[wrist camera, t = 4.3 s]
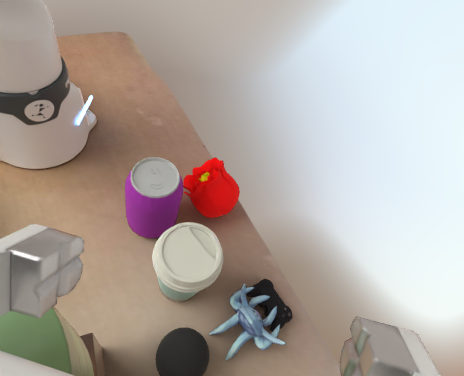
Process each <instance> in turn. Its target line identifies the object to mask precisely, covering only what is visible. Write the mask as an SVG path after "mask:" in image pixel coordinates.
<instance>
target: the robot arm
mask: <svg viewBox="0 0 464 376" xmlns="http://www.w3.org/2000/svg"><path fill="white" fill-rule="evenodd" d="M91 101H92V96H90V97H89V99H88V101H87V103H86V105H84V101H83V97H82V93H81V90H80V88H77V87H76V86H75V85H74V84H73V83H72V82H71V81H69V73H68V69H67V67H66V65H65V62H64V60H63V58H62V57H61V56H60V52H59V47H58V43H57V38H56V34H55V29H54V24H53V20H52V16H51V14H50V12H49V10H48V8H47V7H46V5H45V4H44V3H43V1H42V0H0V160H1V161H4V162H6V163H9V164H11V165H14V166H17V167H21V168H27V169H43V168H50V167H54V166H58V165H60V164H63V163H65V162H67V161H69V160H71V159H72V158H74V157H75V156H76V155H77V154H79V153H80V152H81V150H82V149H83V148H84V146H85V144H86V142H87V138H88V134H89V131H90V130H91V129H92V128H93V127H94V126H95V124H96V122H97V120H96V116H95V115H94V114H93V113H92V112H91V111H90V110H89V109H88V106H89V105H90V103H91ZM83 252H84V240H83V239H82V238H81V237H79V236H75V235H72V234H69V233H66V232H62V231H59V230H56V229H52V228H50V227H46V226H42V225H39V224H31V225H29V226H27V227H25V228H22V229H20V230H18V231H16V232H14V233H12V234H10V235H7V236H5V237H3V238H1V239H0V316H1V315H4V314H6V313H9V312H10V311H13V312H17V313H20V314H24V315H27V316H31V317H34V318H38V319H40V318H41V317H42V316H43V315H44V314H45V313H47V312H48V311H49V310H50V309H51V308H52V307H54V306H55V305H56V304H57V297H60V296H64V295H67V294H68V293H70V292H71V291H72V290H73V289H74V288H75V286H76V285H77V283H78V281H79V280H80V277H81V274H82V267H83V264H82V262H81V260H80V258H79V255H81V254H82V253H83ZM350 330H351V334H352V338H350V339H349V340H347V341H346V342H345V343H344V346H343V349H342V351H341V358H340V373H341V376H441V374H440V373H439V371H438V369H437V367H436V366H435V364H434V362H433V360H432V359H431V357H430V355H429V353H428V352H427V350H426V348H425V346H424V344H423V343H422V341H421V339H420V337H419V336H418V334H417V333H415V332H414V331H411V330H408V329H404V328H400V327H395V326H391V325H387V324H383V323H379V322H376V321H371V320H368V319H364V318H360V317H356V318H355V319H354V321H353V323H352V325H351V327H350ZM0 376H74V375H71V374H68V373H65V372H62V371H59V370H56V369H53V368H50V367H47V366H45V365H42V364H39V363H36V362H33V361H30V360H27V359H24V358H21V357H18V356H15V355H12V354H9V353H6V352H3V351H0Z"/></svg>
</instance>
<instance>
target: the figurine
mask: <svg viewBox="0 0 464 376" xmlns="http://www.w3.org/2000/svg"><path fill="white" fill-rule="evenodd" d="M245 294H247V296H248V297H253V298H252V299H251V300H250V301H249V303H248V302H247V299H246V295H245ZM240 299H241V303H240V302H239V300H240ZM230 304H231V306H232V308H233V309H234V310H235V311H236V312H237V313H236V314H235V315H233V316H232V317H231V318H230V319H229V320H227V321H226V322H225V323H223V324H221V325H220V326H218V327H217V328H216V329H214V330H213V331H212V332H211V333H209V335H216V334H219V333H222V332H224V331H226V330H227V329H229V328H231V327H233V326H235V325H237V324H240V325H241V326H242V327H243V330H244V331H243V332H242V333H241V334H240V336H239V337H238V339H237V340H236V341H235V342H234V344H233V345H232V347H231V349H230V350H229V352H228V354H227V357H226V360H228V359H230V358H232V357H233V356H234V355H235V354H236V353H237V351H238V350H239V349H240V347H241V346H242V345H243V344H244V343H245V342H246V341H248V340H249V339H251V338H253V341H254V343H255V345H256V346H257V347H258V348H260V349H261V350H265V349H267V348H269V347H270V346H271V345H272V344H273V343H276V344H279V345H285V344H286V343H285V342H283V341H282V340H279V339H277V336H278V333H279V330H280V329H281V328H282V327H283V326H284V324H285V323H287V322H289V321H290V320H291V319H292V311H291V309H290V308H289V307H288V306H286V305H285V304H284V302H283V301H282V299H281V298H280V297H279V295H278V294H277V292H276V291H275V289H274V287H273V284H272V282H271V281H270V280H267V279H263V280H261V281H260V282H259V283H258V284H256V285H254V286H252V287H248V288H246V286H245V284H244V285H243V287H242V289H240V290H238V291H236V292H235V293H234V294H232V296H231V297H230ZM257 304H258V305H259V306H260V307H264V308H265V316H266V317H267V318H265V319H263V320H262V319H261V316H260V314H259V313H258V312H257V311H256V310H255V309H253V308H254V307H255V306H256V305H257ZM269 325H271V327H270V330H271V332H272V333H271V334H269V333H268V332H267V331H266V330H265V329H264V328H263V327H266V326H269ZM263 337H264V338H263ZM226 360H225V361H226Z"/></svg>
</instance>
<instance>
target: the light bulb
mask: <svg viewBox="0 0 464 376" xmlns="http://www.w3.org/2000/svg"><path fill="white" fill-rule="evenodd" d="M208 362H209V349H208V345H207V342H206V341H205V339H204V337H203V336H202V335H201V334H200V333H199V332H197V331H196V330H194V329H191V328H178V329H175V330H173V331H171V332H170V333H168V334H167V335H166V336H165V337H164V338H163V339H162V341H161V343H160V344H159V346H158V349H157V353H156V366H157V370H158V372H159V374H160V376H203V374H204V372H205V371H206V369H207V366H208Z"/></svg>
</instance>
